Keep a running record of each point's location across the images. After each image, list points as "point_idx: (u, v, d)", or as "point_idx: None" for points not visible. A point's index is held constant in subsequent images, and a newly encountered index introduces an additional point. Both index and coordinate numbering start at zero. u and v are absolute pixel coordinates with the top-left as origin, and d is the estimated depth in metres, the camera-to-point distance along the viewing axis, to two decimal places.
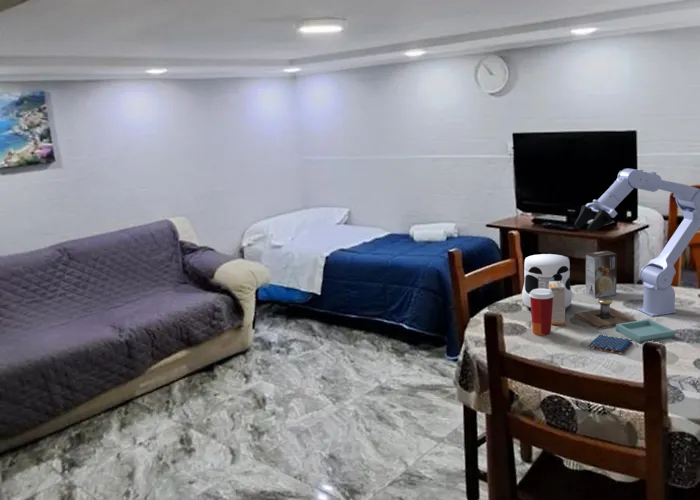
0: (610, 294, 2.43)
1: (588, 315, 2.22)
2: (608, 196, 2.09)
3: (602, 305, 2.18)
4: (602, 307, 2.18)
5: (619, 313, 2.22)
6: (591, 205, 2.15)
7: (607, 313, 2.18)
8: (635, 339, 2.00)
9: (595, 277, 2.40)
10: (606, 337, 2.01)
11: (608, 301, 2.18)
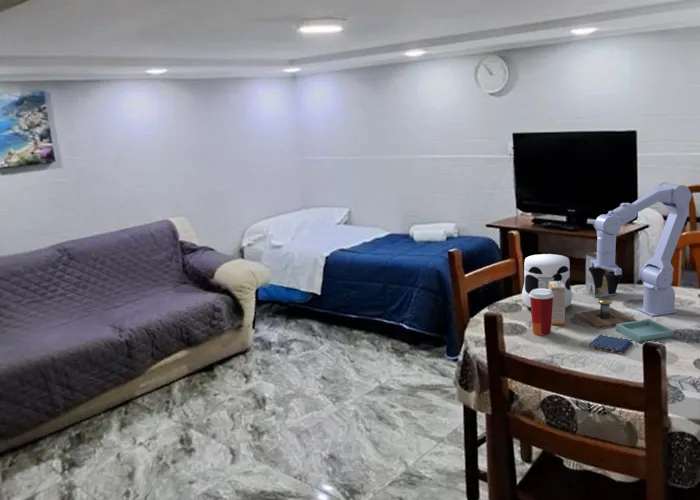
0: (610, 294, 2.43)
1: (588, 315, 2.22)
2: (602, 256, 2.13)
3: (602, 305, 2.18)
4: (602, 307, 2.18)
5: (619, 313, 2.22)
6: None
7: (607, 313, 2.18)
8: (635, 339, 2.00)
9: None
10: (606, 337, 2.01)
11: (608, 301, 2.18)
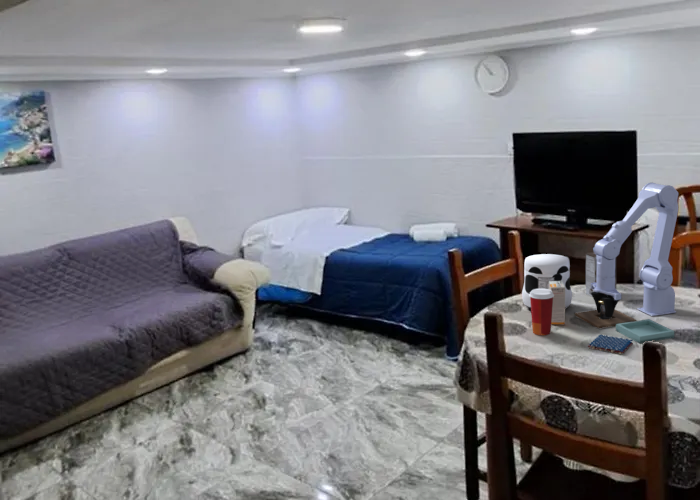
0: None
1: (588, 315, 2.22)
2: (602, 280, 2.15)
3: (602, 305, 2.18)
4: (602, 307, 2.18)
5: (619, 313, 2.22)
6: None
7: None
8: (635, 339, 2.00)
9: (595, 277, 2.40)
10: (606, 337, 2.01)
11: None
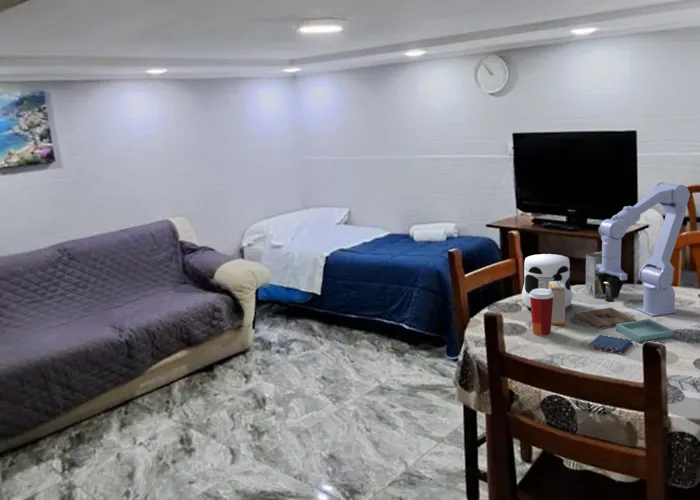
0: None
1: (588, 315, 2.22)
2: (608, 261, 2.11)
3: (607, 286, 2.15)
4: (608, 288, 2.15)
5: (619, 313, 2.22)
6: None
7: None
8: (635, 339, 2.00)
9: (595, 277, 2.40)
10: (606, 337, 2.01)
11: None
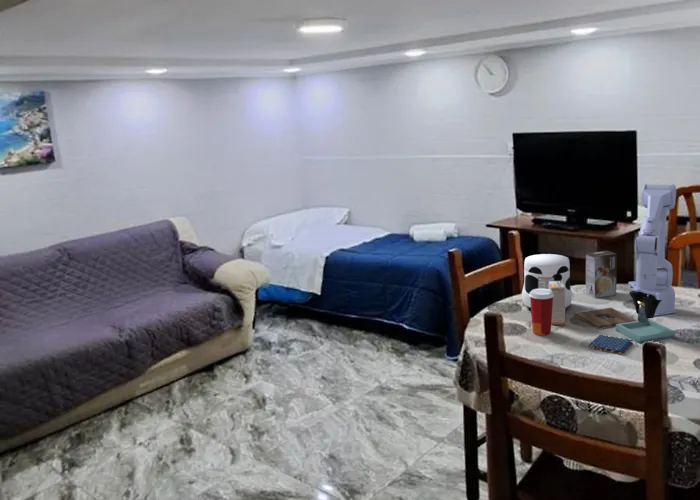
0: (610, 294, 2.43)
1: (588, 315, 2.22)
2: (643, 279, 1.99)
3: (641, 306, 2.02)
4: (641, 308, 2.02)
5: (619, 313, 2.22)
6: None
7: None
8: (635, 339, 2.00)
9: (595, 277, 2.40)
10: (606, 337, 2.01)
11: None
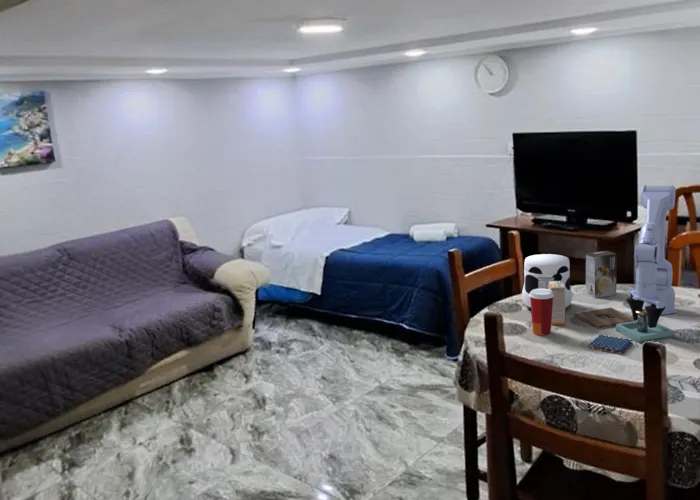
0: (610, 294, 2.43)
1: (588, 315, 2.22)
2: (642, 287, 1.99)
3: (640, 316, 2.04)
4: (640, 318, 2.04)
5: (619, 313, 2.22)
6: None
7: (645, 324, 2.04)
8: (635, 339, 2.00)
9: (595, 277, 2.40)
10: (606, 337, 2.01)
11: (646, 312, 2.03)
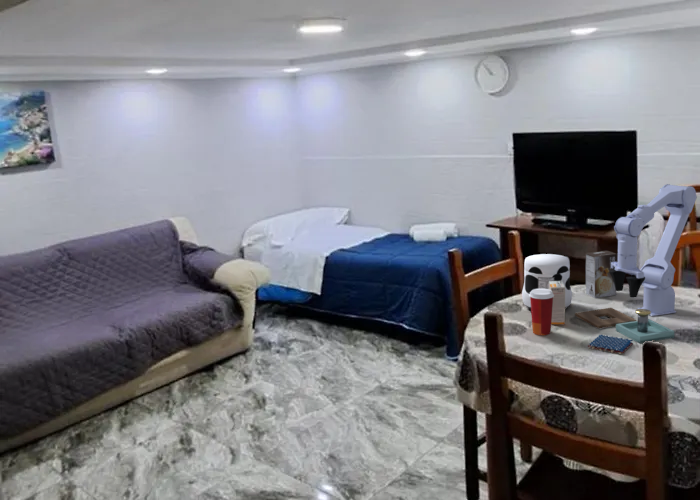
0: (610, 294, 2.43)
1: (588, 315, 2.22)
2: (624, 259, 2.10)
3: (640, 316, 2.04)
4: (640, 318, 2.04)
5: (619, 313, 2.22)
6: None
7: (645, 324, 2.04)
8: (635, 339, 2.00)
9: (595, 277, 2.40)
10: (606, 337, 2.01)
11: (646, 312, 2.03)
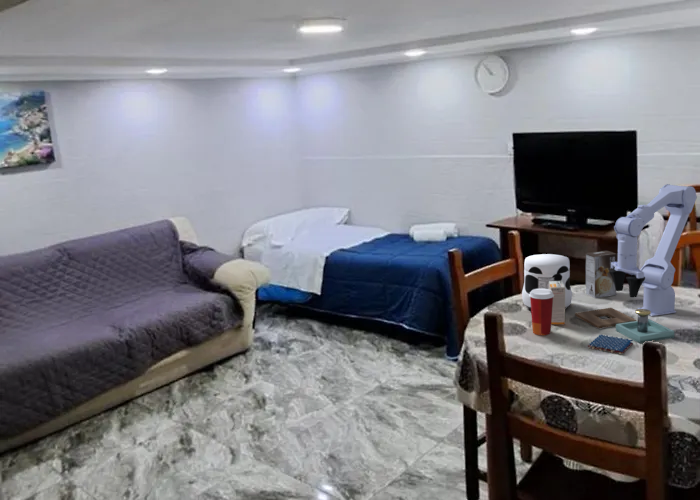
0: (610, 294, 2.43)
1: (588, 315, 2.22)
2: (624, 259, 2.10)
3: (640, 316, 2.04)
4: (640, 318, 2.04)
5: (619, 313, 2.22)
6: None
7: (645, 324, 2.04)
8: (635, 339, 2.00)
9: (595, 277, 2.40)
10: (606, 337, 2.01)
11: (646, 312, 2.03)
